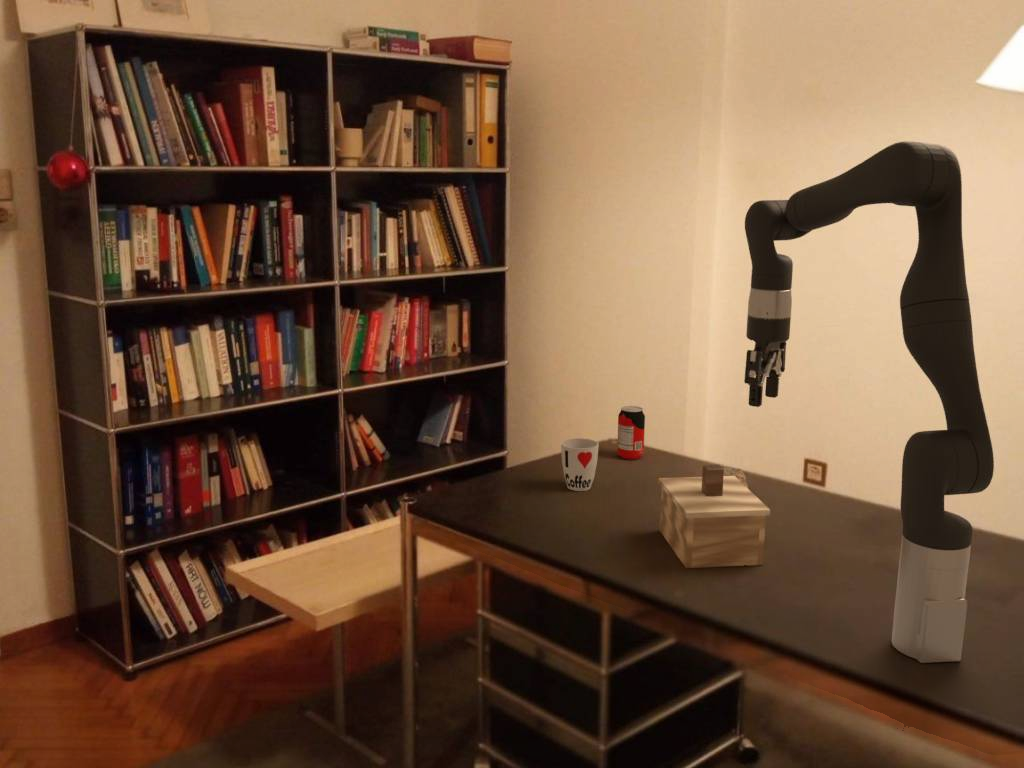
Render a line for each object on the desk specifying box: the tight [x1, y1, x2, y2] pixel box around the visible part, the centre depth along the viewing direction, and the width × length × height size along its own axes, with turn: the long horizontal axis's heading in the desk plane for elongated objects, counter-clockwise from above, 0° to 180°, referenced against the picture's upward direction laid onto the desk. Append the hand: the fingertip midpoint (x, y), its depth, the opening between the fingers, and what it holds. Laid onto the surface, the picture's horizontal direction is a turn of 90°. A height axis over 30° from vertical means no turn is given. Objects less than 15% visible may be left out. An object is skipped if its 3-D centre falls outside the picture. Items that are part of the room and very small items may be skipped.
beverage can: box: [616, 405, 646, 461], centre depth 238 cm, size 6×6×12 cm
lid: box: [658, 464, 771, 518], centre depth 182 cm, size 19×15×6 cm
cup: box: [560, 437, 600, 492], centre depth 217 cm, size 8×8×10 cm
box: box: [659, 487, 767, 569], centre depth 184 cm, size 18×14×10 cm
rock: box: [722, 467, 749, 489], centre depth 216 cm, size 9×6×10 cm
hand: (763, 401), depth 182 cm, fingers open, 8 cm apart
